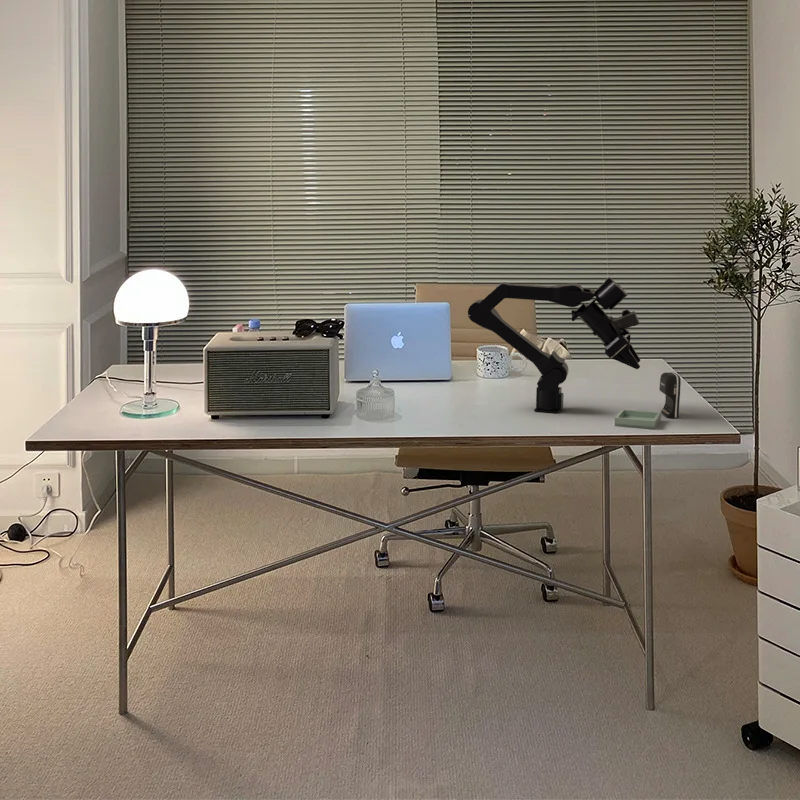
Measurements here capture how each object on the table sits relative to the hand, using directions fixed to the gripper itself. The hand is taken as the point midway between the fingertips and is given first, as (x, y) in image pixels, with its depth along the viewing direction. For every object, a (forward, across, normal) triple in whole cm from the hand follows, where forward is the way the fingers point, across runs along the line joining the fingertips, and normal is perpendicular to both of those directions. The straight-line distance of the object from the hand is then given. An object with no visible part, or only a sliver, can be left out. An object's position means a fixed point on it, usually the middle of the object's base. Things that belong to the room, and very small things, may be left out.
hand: (639, 364), depth 275 cm
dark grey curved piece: (+15, 0, +4) cm, 16 cm away
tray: (+10, -10, +9) cm, 17 cm away
